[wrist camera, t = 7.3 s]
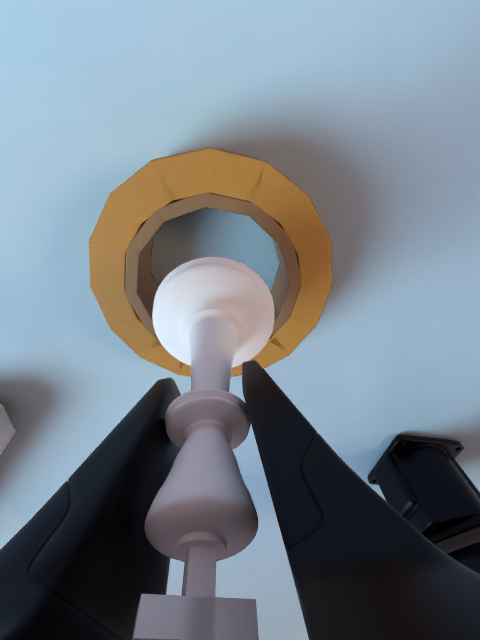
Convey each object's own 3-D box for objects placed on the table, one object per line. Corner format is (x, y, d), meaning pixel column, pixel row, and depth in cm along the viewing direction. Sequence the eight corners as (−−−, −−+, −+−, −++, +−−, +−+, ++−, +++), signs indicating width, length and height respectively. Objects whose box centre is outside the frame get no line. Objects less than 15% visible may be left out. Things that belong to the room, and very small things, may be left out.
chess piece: (163, 241, 11) (-118, 655, 2) (291, 274, 11) (503, 662, 3) (146, 350, 13) (-14, 761, 4) (253, 370, 14) (305, 746, 5)
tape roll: (346, 181, 15) (372, 187, 12) (283, 359, 21) (291, 389, 18) (110, 122, 13) (83, 116, 11) (110, 334, 19) (92, 364, 16)
